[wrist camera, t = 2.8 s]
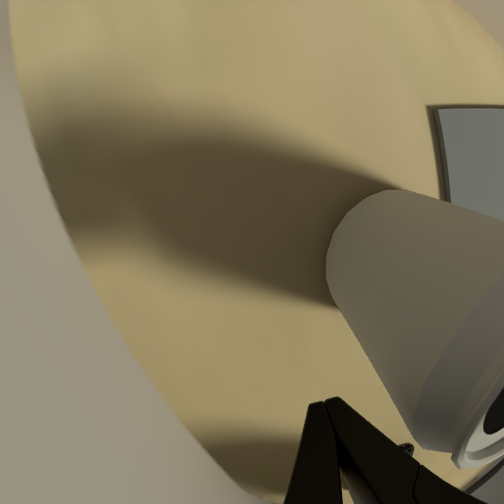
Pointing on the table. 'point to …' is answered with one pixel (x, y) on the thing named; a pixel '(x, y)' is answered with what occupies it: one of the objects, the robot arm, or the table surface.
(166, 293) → the table surface
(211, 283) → the table surface
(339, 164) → the table surface
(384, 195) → the can
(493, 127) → the mat
